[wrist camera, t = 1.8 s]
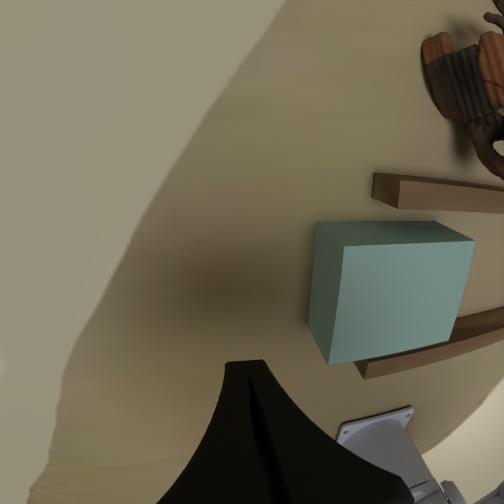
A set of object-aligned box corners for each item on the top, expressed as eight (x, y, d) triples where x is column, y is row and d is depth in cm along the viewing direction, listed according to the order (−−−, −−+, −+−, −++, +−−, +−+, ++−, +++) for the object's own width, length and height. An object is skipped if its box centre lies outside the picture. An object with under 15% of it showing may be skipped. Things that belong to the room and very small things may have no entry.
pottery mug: (405, 3, 14) (508, -20, 7) (455, 61, 20) (534, 52, 13) (428, 168, 15) (564, 168, 8) (470, 191, 21) (560, 195, 14)
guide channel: (516, 314, 25) (533, 327, 22) (348, 353, 22) (363, 379, 19) (545, 195, 20) (567, 203, 17) (373, 172, 18) (400, 180, 15)
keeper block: (415, 309, 22) (448, 340, 18) (306, 323, 21) (328, 365, 17) (433, 220, 19) (475, 240, 15) (314, 221, 18) (344, 246, 14)
